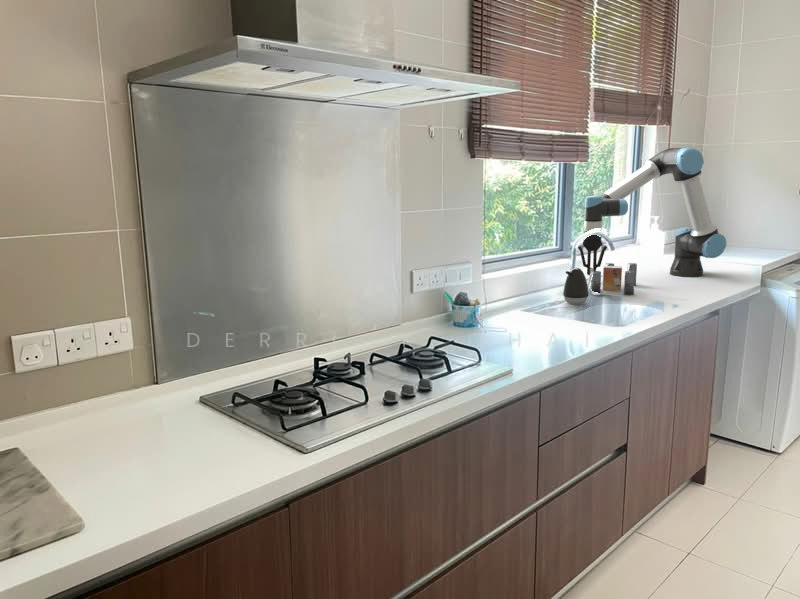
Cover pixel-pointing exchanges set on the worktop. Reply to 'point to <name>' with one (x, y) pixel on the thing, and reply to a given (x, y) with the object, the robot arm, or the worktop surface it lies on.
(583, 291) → the pump dispenser
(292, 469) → the worktop surface
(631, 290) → the spacer field
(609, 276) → the small box
